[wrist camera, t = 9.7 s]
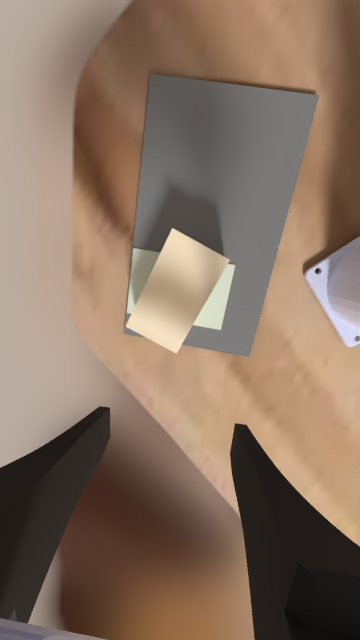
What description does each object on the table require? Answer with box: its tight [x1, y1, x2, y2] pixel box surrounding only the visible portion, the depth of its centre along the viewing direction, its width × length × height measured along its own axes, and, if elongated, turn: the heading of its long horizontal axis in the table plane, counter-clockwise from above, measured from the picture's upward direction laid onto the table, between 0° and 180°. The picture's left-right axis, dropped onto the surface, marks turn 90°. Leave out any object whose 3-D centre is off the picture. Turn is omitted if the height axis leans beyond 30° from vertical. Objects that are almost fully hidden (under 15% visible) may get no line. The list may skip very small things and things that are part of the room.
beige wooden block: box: [125, 228, 230, 353], centre depth 18 cm, size 8×4×3 cm, turn 152°
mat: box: [124, 74, 319, 357], centre depth 18 cm, size 20×12×1 cm, turn 171°
